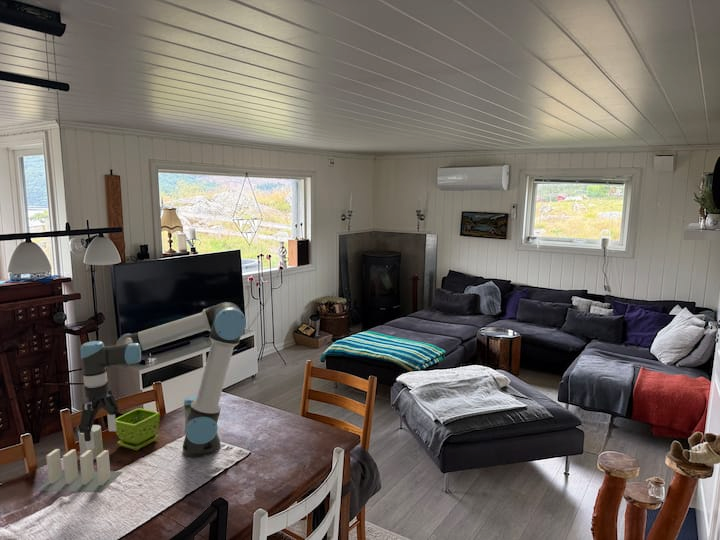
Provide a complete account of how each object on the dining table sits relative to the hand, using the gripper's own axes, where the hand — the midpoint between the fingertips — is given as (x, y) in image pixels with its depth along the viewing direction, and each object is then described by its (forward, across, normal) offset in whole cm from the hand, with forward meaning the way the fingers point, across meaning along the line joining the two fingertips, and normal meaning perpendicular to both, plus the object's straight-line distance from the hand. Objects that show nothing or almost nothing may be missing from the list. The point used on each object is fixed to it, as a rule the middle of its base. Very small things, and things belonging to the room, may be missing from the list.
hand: (102, 439), depth 181 cm
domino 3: (+16, 0, -7) cm, 18 cm away
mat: (+17, 0, -10) cm, 20 cm away
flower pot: (+17, -30, -4) cm, 35 cm away
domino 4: (+16, 0, -1) cm, 17 cm away
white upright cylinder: (+17, -18, -18) cm, 30 cm away
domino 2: (+16, 0, -14) cm, 21 cm away
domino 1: (+16, 0, -20) cm, 26 cm away
